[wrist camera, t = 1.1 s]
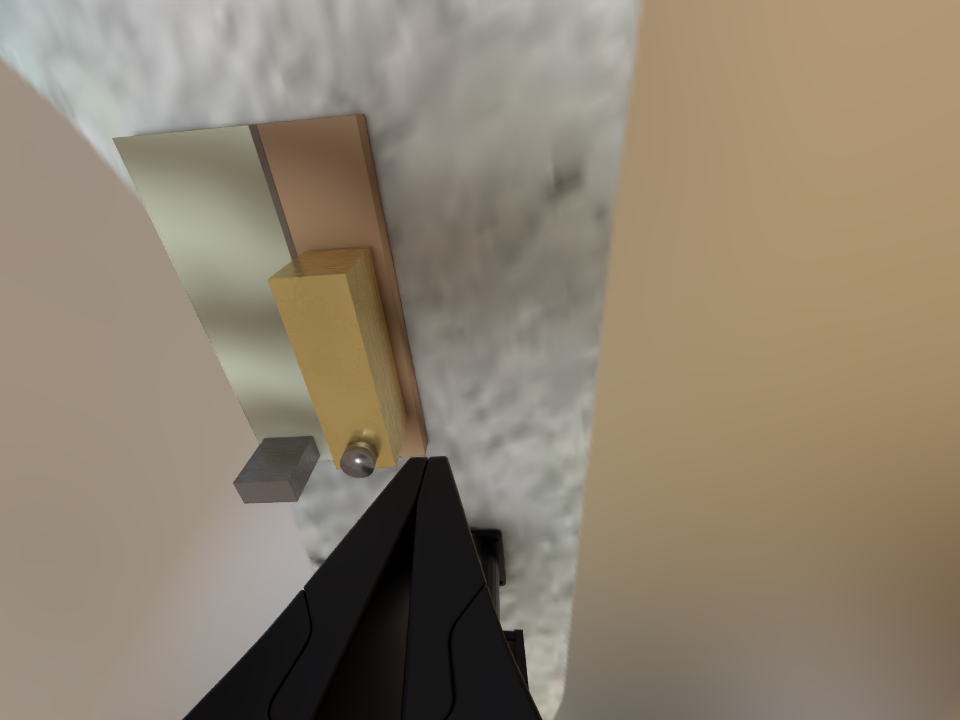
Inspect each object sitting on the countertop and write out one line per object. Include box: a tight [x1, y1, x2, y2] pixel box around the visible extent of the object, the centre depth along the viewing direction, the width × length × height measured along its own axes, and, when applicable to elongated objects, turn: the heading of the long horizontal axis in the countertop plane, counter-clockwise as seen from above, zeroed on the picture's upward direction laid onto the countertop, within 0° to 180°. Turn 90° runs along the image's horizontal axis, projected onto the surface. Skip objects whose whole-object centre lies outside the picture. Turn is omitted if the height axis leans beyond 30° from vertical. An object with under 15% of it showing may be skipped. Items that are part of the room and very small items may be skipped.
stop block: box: [233, 436, 320, 503], centre depth 24 cm, size 2×3×4 cm, turn 95°
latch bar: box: [267, 247, 408, 478], centre depth 19 cm, size 10×3×4 cm, turn 5°
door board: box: [112, 115, 428, 460], centre depth 21 cm, size 18×10×1 cm, turn 5°
